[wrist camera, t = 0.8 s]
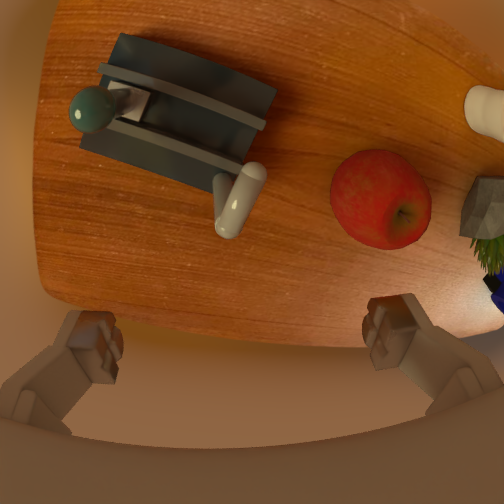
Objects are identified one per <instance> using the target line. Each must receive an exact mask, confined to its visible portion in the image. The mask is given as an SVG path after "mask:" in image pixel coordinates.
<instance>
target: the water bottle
mask: <svg viewBox="0 0 504 504" xmlns="http://www.w3.org/2000/svg"><path fill="white" fill-rule="evenodd" d="M464 111H465V117H466V120H467V122H468V124H469V126H470V127H471V128H472V129H473V130H474V131H475V132H477V133H479V134H482V135H485V136H489V137H493V138H495V139H496V140H498V141H500V142H503V143H504V90H496V89H493V88H490V87H487V86H481V85H478V86H474V87H473V88H471V89H470V90H469V92H468V94H467V96H466V99H465V104H464Z"/></svg>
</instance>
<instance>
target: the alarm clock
mask: <svg viewBox="0 0 504 504" xmlns="http://www.w3.org/2000/svg"><path fill="white" fill-rule="evenodd" d="M483 281H484V282H485V284H486V285H487V286H488V288H489V290H490V291H491V292H493V294H492V295H491V299H492V301H493V302H494V304H495V305H496V306H497V308H498V309H499V310H500V311H501V312H502V313H503V314H504V268H503V274H502V267H501V269H500V273H499V274H496V273H495V271H494V275H492V271H491V274H487V275H486V276H485V277H484V278H483Z"/></svg>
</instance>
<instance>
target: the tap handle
mask: <svg viewBox="0 0 504 504" xmlns="http://www.w3.org/2000/svg"><path fill="white" fill-rule="evenodd" d="M152 94H153V91H150V90H146V89H143V88H140V87H137V86H134V85H130V84H127V83H124V82H120V81H117V80H111V81H110V83H109V86H108V89H107V88H105V87H103V86H98V85H93V86H88V87H85V88H83V89H82V90H80V91H79V92H78V93H77V94H76V95H75V96H74V98H73V99H72V101H71V103H70V106H69V118H70V121H71V123H72V125H73V126H74V127H75V128H76V129H77V130H78V131H80V132H82V133H86V134H94V133H98V132H100V131H102V130H104V129H105V128H107V127H108V126H109V125H110V123H111V122H112V121H113V119H115V118H118V117H120V116H121V117H124V118H127V119H130V120H134V121H137V122H140V121H141V120H143V117H144V115H145V112H146V109H147V107H148V104H149V102H150V99H151V97H152Z"/></svg>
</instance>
